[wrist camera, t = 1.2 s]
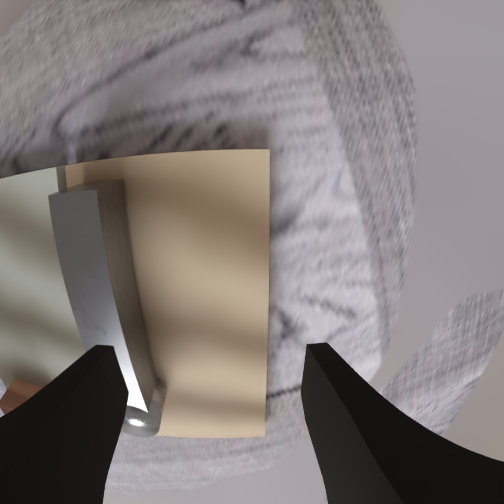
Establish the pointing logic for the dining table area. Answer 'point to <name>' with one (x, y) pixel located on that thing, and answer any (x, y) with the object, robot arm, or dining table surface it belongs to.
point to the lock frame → (154, 282)
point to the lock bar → (107, 291)
